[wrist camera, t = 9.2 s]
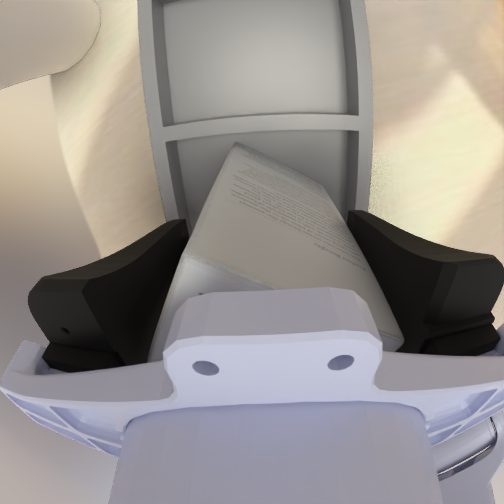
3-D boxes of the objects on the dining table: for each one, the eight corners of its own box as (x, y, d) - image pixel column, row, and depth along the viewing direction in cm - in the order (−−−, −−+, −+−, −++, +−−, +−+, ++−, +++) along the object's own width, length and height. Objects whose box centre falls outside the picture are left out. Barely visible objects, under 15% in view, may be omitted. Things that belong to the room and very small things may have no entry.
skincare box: (206, 201, 17) (138, 365, 7) (235, 139, 15) (177, 246, 5) (292, 239, 18) (319, 413, 8) (326, 185, 16) (414, 339, 6)
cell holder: (335, 329, 24) (341, 354, 22) (210, 335, 25) (205, 360, 22) (344, -11, 10) (359, -27, 7) (155, 2, 11) (137, -12, 8)
